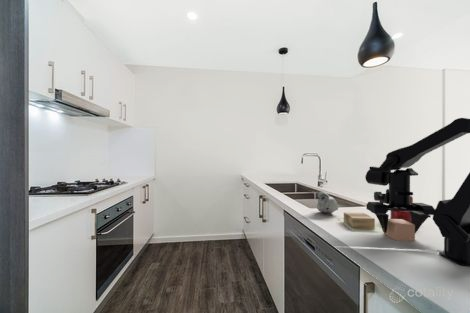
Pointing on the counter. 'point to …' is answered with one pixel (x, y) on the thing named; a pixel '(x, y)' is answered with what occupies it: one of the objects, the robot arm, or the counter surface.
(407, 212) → the soda can
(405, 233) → the terracotta block
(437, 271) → the counter surface
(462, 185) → the robot arm
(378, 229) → the build plate
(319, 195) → the grey rounded lump
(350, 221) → the oak block
